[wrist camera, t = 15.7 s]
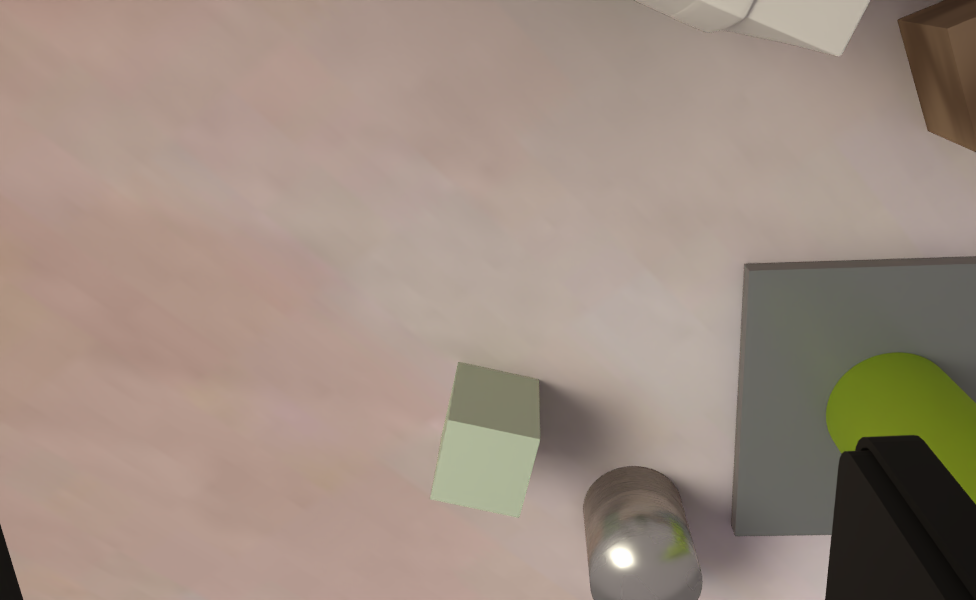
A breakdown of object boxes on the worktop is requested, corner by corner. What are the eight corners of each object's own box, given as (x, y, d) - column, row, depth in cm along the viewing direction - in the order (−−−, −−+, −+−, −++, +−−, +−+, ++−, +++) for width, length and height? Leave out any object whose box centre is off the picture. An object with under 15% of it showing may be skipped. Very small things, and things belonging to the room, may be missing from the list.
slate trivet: (744, 263, 42) (749, 270, 41) (1060, 253, 41) (1072, 260, 40) (731, 524, 47) (735, 536, 46) (1013, 520, 46) (1023, 531, 45)
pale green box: (458, 361, 45) (448, 419, 39) (538, 379, 45) (540, 439, 39) (442, 433, 46) (430, 499, 40) (520, 449, 46) (519, 517, 41)
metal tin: (582, 467, 46) (589, 537, 41) (682, 465, 46) (704, 535, 40) (583, 551, 48) (590, 629, 42) (680, 549, 48) (700, 628, 42)
